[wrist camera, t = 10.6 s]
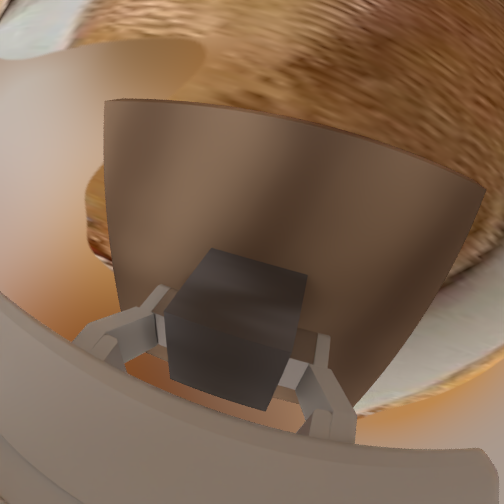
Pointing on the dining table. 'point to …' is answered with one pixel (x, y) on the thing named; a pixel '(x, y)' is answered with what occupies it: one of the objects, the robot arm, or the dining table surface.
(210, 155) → the cover
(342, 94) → the dining table surface
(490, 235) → the dining table surface
